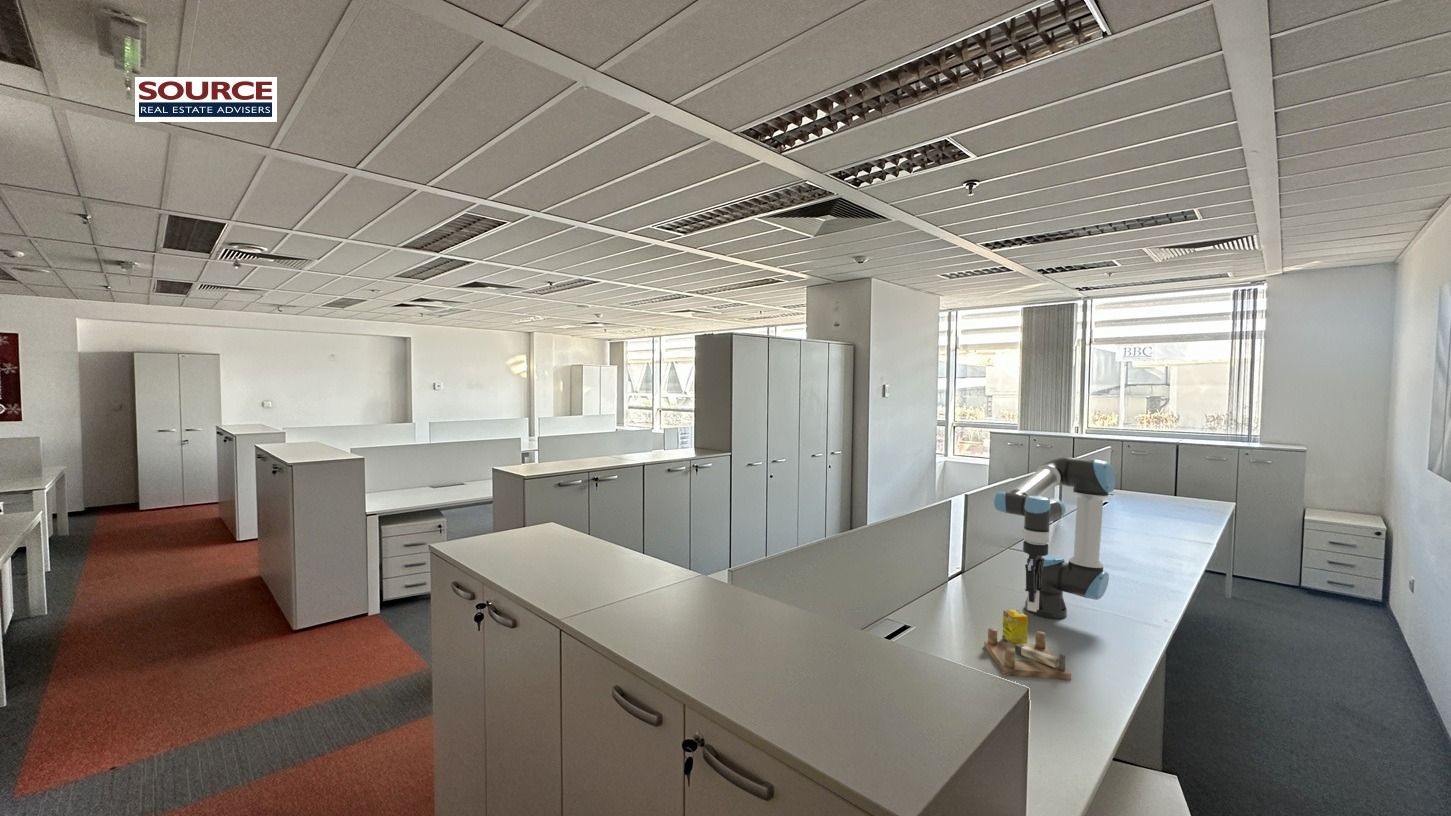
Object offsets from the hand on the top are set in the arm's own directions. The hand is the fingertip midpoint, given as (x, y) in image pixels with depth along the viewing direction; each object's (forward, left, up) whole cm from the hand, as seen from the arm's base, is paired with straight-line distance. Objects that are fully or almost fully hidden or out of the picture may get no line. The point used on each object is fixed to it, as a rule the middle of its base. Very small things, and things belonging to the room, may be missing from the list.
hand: (1032, 609), depth 194 cm
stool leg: (+1, +7, -14) cm, 16 cm away
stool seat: (+4, +5, -16) cm, 18 cm away
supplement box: (+2, -10, -17) cm, 20 cm away
